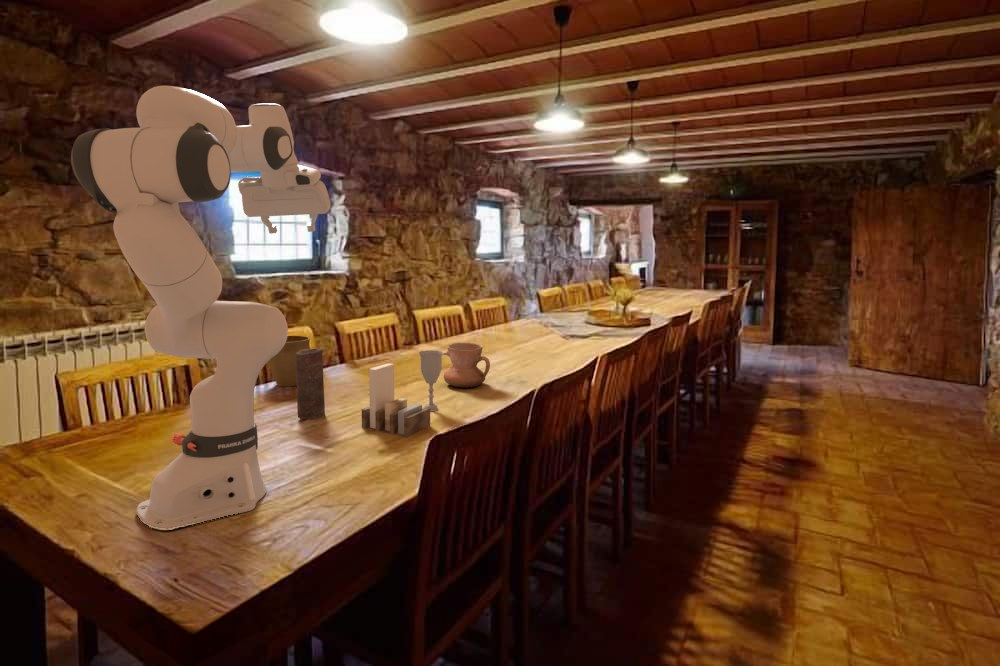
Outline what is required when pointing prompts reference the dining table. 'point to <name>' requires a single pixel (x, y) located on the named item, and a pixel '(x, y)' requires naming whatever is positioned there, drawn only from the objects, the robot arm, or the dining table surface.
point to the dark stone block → (310, 384)
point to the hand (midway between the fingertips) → (292, 231)
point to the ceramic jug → (465, 365)
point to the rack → (411, 422)
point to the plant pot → (288, 360)
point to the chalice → (431, 372)
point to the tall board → (380, 389)
